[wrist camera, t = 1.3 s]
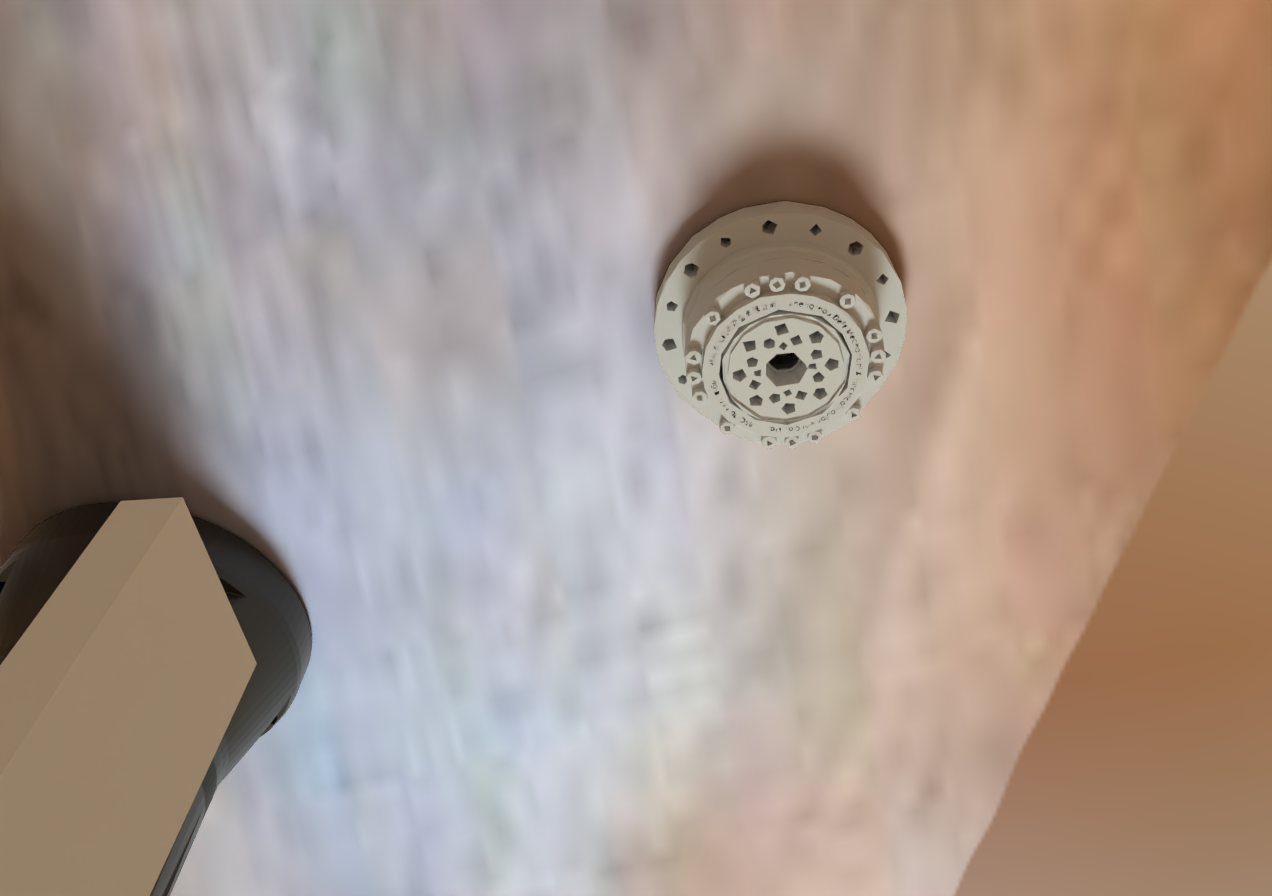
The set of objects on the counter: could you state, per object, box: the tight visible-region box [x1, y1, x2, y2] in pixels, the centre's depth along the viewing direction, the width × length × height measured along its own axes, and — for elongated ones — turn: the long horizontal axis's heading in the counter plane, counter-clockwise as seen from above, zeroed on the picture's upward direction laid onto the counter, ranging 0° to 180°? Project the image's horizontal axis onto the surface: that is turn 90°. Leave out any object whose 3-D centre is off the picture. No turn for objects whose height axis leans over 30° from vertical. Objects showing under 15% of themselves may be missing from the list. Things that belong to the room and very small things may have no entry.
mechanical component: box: [654, 201, 907, 449], centre depth 41 cm, size 10×4×10 cm
